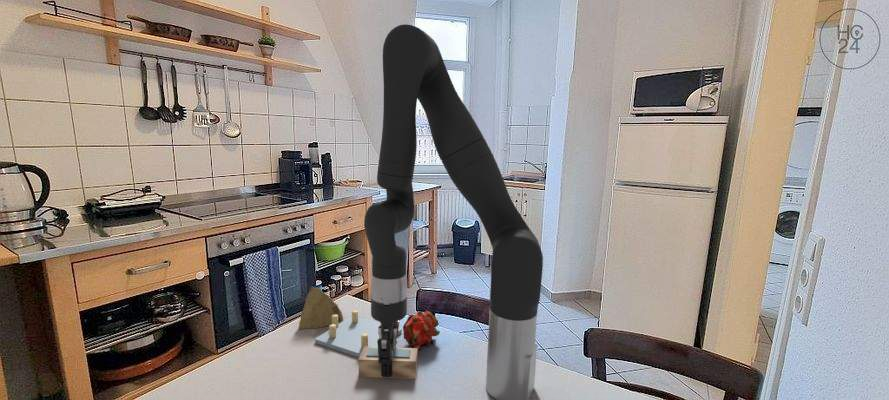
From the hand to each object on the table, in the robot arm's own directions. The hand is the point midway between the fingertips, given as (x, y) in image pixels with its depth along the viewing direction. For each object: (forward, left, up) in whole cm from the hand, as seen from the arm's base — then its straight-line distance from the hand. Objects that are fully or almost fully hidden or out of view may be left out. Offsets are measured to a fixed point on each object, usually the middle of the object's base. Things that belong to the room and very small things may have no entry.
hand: (388, 367), depth 83 cm
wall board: (+14, -8, -1) cm, 16 cm away
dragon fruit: (-1, -13, -1) cm, 13 cm away
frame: (0, 0, -1) cm, 1 cm away
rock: (+27, -9, -1) cm, 28 cm away
